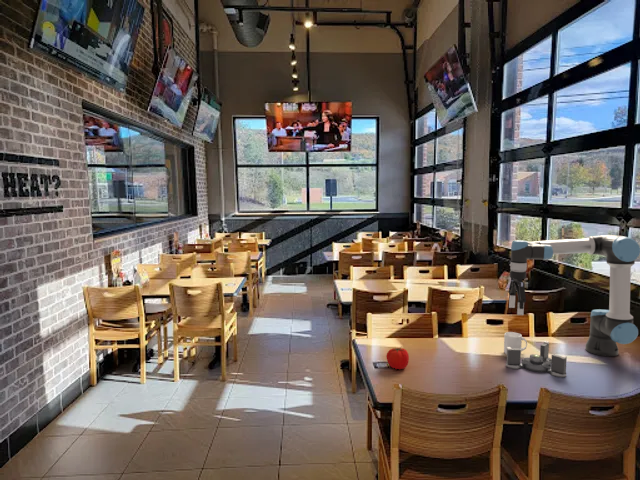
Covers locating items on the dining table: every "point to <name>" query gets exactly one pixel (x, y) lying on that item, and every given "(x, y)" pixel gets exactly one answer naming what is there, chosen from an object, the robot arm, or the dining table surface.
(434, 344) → the dining table surface
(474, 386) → the dining table surface
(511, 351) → the dark grey angled finger
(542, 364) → the tribrach
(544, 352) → the knob
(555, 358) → the knob
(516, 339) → the mug
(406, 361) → the tomato
